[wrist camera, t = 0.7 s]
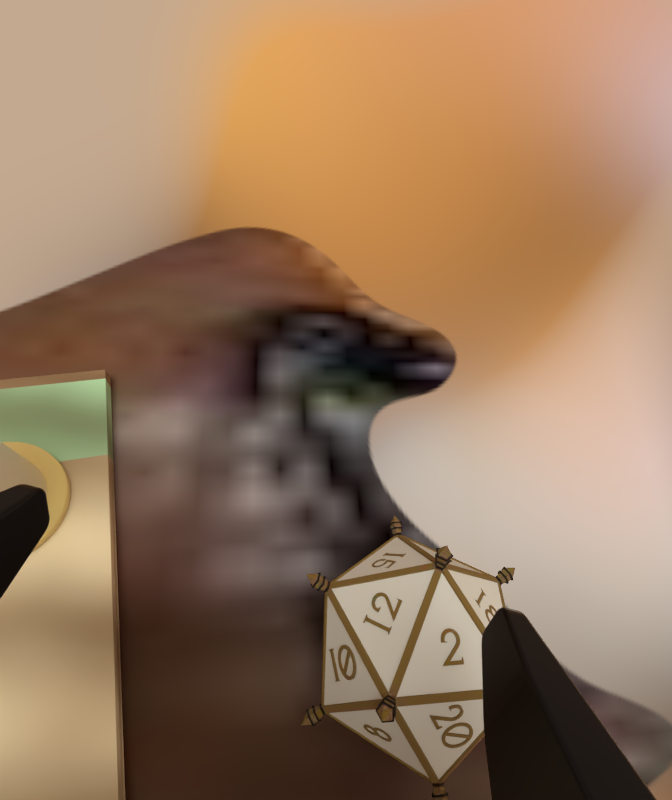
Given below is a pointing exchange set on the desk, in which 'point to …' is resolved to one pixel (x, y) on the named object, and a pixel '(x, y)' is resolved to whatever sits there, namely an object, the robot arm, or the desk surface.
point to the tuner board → (64, 606)
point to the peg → (36, 478)
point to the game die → (408, 653)
